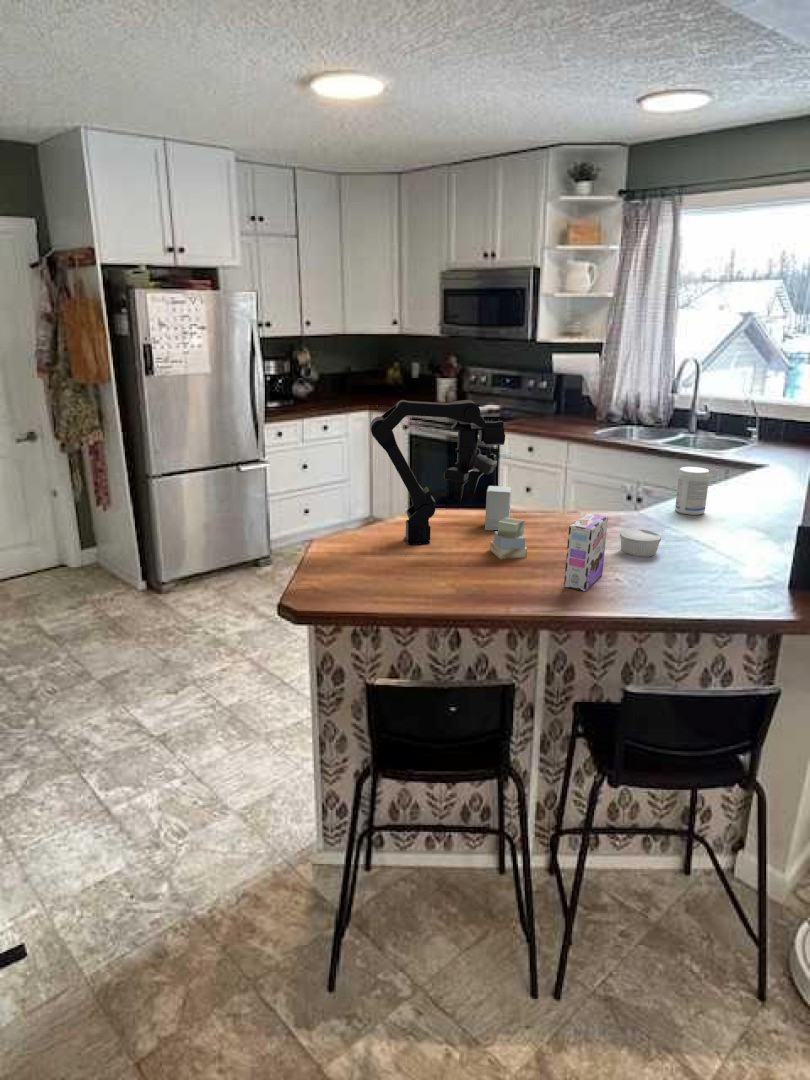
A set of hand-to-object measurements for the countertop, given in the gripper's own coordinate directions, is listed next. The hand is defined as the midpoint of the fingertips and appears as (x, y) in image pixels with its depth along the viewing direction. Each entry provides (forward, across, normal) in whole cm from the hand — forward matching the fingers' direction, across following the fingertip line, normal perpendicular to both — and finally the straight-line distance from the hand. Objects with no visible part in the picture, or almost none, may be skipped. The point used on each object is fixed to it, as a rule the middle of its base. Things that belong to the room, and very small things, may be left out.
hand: (465, 498), depth 216 cm
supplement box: (+13, +17, -4) cm, 22 cm away
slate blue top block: (+10, -4, -16) cm, 19 cm away
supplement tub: (+13, +66, -54) cm, 86 cm away
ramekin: (+13, +16, -48) cm, 52 cm away
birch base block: (+14, -4, -16) cm, 21 cm away
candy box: (+13, -15, -40) cm, 45 cm away
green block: (+8, -4, -16) cm, 18 cm away
